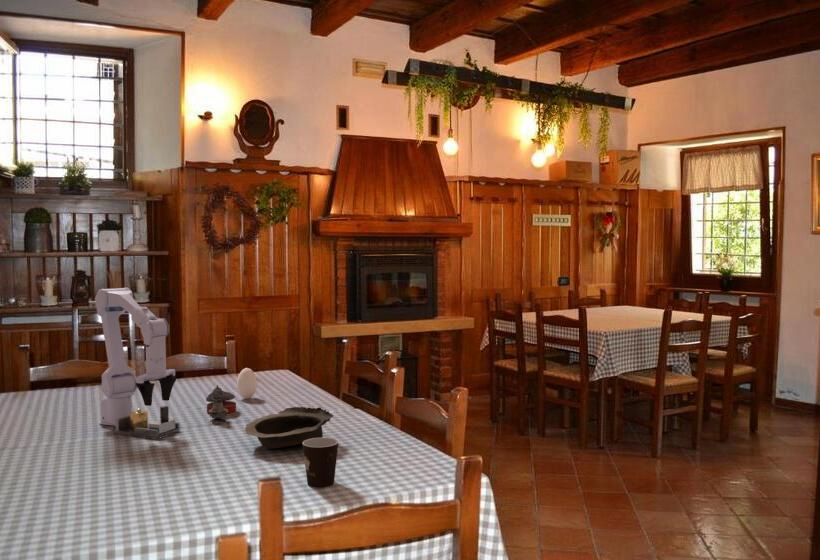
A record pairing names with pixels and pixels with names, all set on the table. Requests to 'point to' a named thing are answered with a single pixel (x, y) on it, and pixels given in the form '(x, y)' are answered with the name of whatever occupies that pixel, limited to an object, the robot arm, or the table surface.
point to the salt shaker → (217, 407)
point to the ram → (163, 421)
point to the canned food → (223, 402)
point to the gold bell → (139, 419)
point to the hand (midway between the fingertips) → (157, 402)
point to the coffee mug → (320, 461)
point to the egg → (246, 383)
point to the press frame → (140, 429)
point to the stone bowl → (289, 426)
